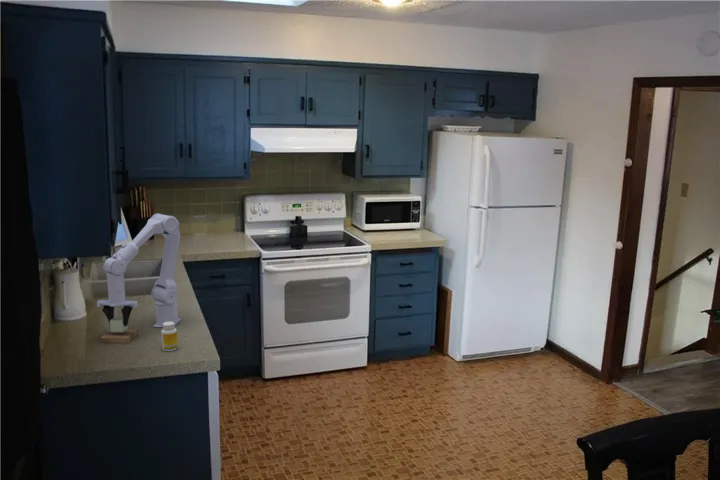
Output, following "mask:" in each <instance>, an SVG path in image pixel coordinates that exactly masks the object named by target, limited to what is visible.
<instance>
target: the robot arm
mask: <svg viewBox="0 0 720 480" xmlns="http://www.w3.org/2000/svg"><path fill="white" fill-rule="evenodd" d="M156 234H157V235H158V234H159V235H160V234H161V235H162V236H163V238H164V239H165V240H164V246H163V252H162V253H163V254H162V260H161V265H160V266H161V267H160V273H159V277H158V279H157V280H155V281H154V286H153V287H152V289H151V293H150V294H151V297H152V298H153V300H154V303H155V313H156V316H155V317H156V323H155V324H154V325H152V327H153V328H163V323H165V322H174V323H175V326H176V325H177V324H178V323H179V322H180V321H181V318H179V313H178V310H179V309H178V307H179V306H178V304H177V300H178V298H179V294H178V284H177V282H176V281H175V275H176V268H177V261H178V256H179V255H178V254H179V248H180V242H181V232H180V222H179V220H178V219H177V218H176V217H175V216H173V215H167V214H162V213H158V212H157V213H154V214H153V215H152V216H151V217H150V218H149V219H148V220H147V223H145V226H144V227H142V228H141V229H140V231H139V233H138V234H137V235H136V236H135V237H134V238H133V239H132V241H131V242H129V241H128V242H125V243H123V244H121V247H120V249H118V250H117V252H115V253H113V255H112V257H111V256H110V257H108V258H107V259H106V260H105V261H104V264H103V265H102V269H103V271H105V273H106V282H107V292H108V293H107V295H108V299H105V300H104V299H99V300H98V301H96V306H97V308H100V307H102V309H101V310H102V313H104V315H105V316H106V319H107V321H108V323H109V325H110V320H111V319H112V318H114V317H115V314H114V313H115V308H116V307H117V308H119V307H120V308H121V307H122V308H121V309H120V310H121V314H122V316H123V323H124V326H127V325H128V326H129V320H130V316H131V312H132V311H133V308H134V309H135V308H138V306H139V302H138V301H137V300H129V299H126V289H125V277H124V276H125V274H124V273H125V272H126V271H127V267H128V266H129V263H131V261H132V260H133V259H134V258H135V257H136V256H137V255H138V254H139V249H140V248H141V247H142V246H143V245H144V244H145V243H146V242H148V240H149V239H150V238H151V237H153V236H154V235H156Z"/></svg>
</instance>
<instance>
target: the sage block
mask: <svg viewBox="0 0 720 480" xmlns="http://www.w3.org/2000/svg"><path fill="white" fill-rule="evenodd" d="M109 327H110V330H111V332H124V331H125V330H126V329H129V328H128V327H129V324H128V325H127V326H124V323H123V315H122V316H118V315H117V316H116V315H114V318H112V319H111V320H110V324H109Z"/></svg>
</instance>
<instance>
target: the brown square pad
mask: <svg viewBox="0 0 720 480" xmlns="http://www.w3.org/2000/svg"><path fill="white" fill-rule="evenodd" d="M136 335H137V336H138V335H139V329H138V328H127V329H126V330H125V331H124V332H111V329H109V330H108V331H107V332H106V333H104V334H103V335H102V336H101V337H100V343H101V344H127V345H128V344H129V343H130V342H132V340H134V339H135V338H136V337H137V336H136ZM135 336H136V337H135Z"/></svg>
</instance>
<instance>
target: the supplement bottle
mask: <svg viewBox="0 0 720 480" xmlns="http://www.w3.org/2000/svg"><path fill="white" fill-rule="evenodd" d="M175 326H176V325H175V323H174V322H165V323H163V327H162V329H161V331H160V334H161V335H160V336H161V337H160V338H161V350H162V351H164V352H172V351H173V352H174V351H175V350H177V349H178V347H179V346H178V333H177V332H178V330H177V328H176V327H175Z"/></svg>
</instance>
